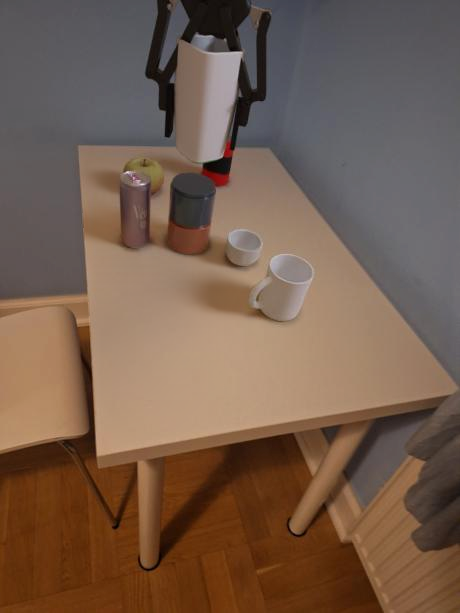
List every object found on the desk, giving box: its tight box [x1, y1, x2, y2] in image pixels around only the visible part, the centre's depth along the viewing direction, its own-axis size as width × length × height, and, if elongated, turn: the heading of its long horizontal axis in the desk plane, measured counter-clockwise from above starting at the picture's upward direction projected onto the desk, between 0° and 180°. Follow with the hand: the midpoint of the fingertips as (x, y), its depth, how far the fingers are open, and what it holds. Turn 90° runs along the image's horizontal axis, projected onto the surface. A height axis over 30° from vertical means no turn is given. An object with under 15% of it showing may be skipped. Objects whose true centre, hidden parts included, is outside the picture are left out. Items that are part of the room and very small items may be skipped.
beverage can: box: [118, 171, 152, 249], centre depth 83 cm, size 6×6×15 cm
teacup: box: [225, 228, 264, 267], centre depth 88 cm, size 10×8×5 cm
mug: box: [248, 253, 315, 322], centre depth 76 cm, size 12×8×10 cm
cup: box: [173, 34, 246, 165], centre depth 56 cm, size 7×7×15 cm
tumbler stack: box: [166, 172, 217, 256], centre depth 86 cm, size 9×9×14 cm
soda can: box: [201, 134, 234, 187], centre depth 108 cm, size 8×8×12 cm
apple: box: [122, 157, 165, 195], centre depth 100 cm, size 10×10×8 cm
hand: (200, 140), depth 60 cm, fingers closed on cup, 9 cm apart
